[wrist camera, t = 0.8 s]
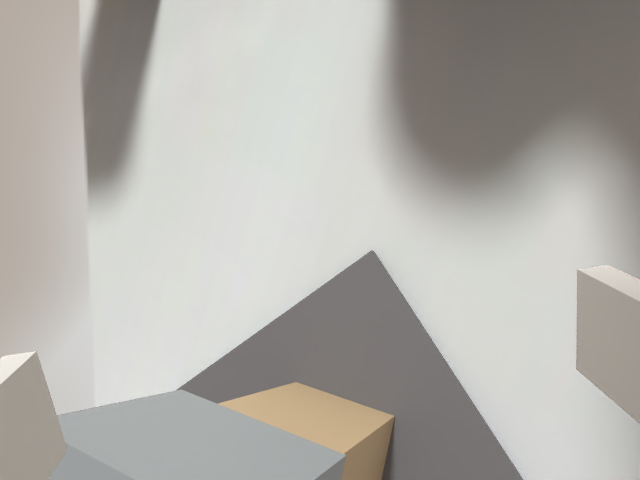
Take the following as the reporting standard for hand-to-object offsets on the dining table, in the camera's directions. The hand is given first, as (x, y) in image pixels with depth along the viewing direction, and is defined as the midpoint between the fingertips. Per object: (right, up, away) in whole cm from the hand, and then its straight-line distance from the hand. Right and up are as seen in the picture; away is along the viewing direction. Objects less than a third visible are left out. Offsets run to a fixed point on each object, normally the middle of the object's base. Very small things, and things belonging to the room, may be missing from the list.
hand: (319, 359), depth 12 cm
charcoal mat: (+1, -13, +25) cm, 28 cm away
